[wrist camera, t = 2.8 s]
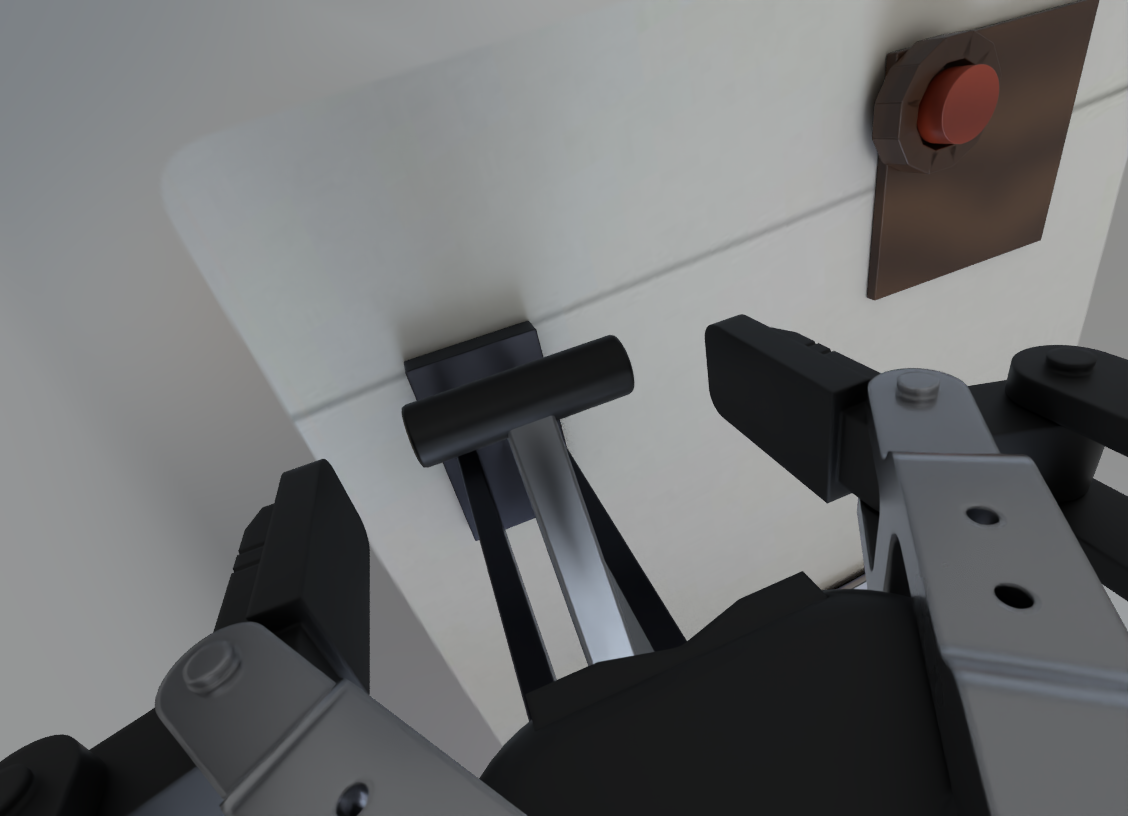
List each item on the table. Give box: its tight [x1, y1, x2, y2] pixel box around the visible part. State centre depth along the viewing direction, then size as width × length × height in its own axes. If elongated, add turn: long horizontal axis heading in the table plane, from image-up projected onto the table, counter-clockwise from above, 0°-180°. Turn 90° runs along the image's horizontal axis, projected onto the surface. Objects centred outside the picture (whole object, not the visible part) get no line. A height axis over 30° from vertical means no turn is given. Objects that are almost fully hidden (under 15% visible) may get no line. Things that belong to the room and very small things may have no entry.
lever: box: [402, 335, 637, 666], centre depth 13 cm, size 14×5×2 cm, turn 13°
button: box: [917, 64, 999, 144], centre depth 28 cm, size 4×4×2 cm
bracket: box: [404, 321, 687, 722], centre depth 22 cm, size 12×7×24 cm, turn 13°
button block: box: [867, 0, 1099, 300], centre depth 33 cm, size 14×15×2 cm
